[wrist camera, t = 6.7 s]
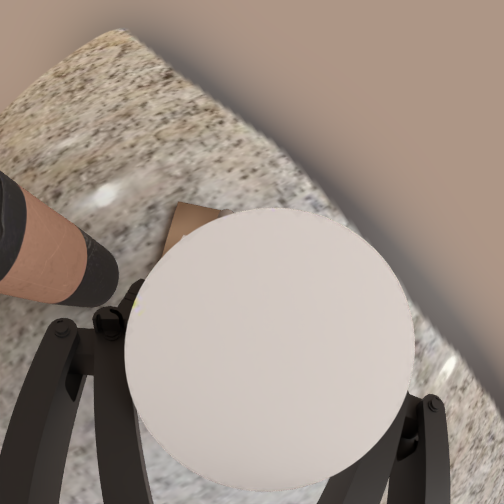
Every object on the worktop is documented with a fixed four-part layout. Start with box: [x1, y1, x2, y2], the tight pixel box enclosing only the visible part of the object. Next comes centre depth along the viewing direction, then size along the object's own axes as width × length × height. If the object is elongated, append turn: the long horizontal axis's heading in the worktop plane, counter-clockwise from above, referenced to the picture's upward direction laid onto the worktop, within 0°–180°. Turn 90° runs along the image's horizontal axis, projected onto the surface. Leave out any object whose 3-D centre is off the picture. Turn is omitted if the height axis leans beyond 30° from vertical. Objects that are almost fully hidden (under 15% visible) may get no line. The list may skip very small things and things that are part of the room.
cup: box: [125, 208, 415, 492], centre depth 13 cm, size 8×8×12 cm
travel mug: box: [0, 171, 119, 307], centre depth 21 cm, size 8×8×20 cm
